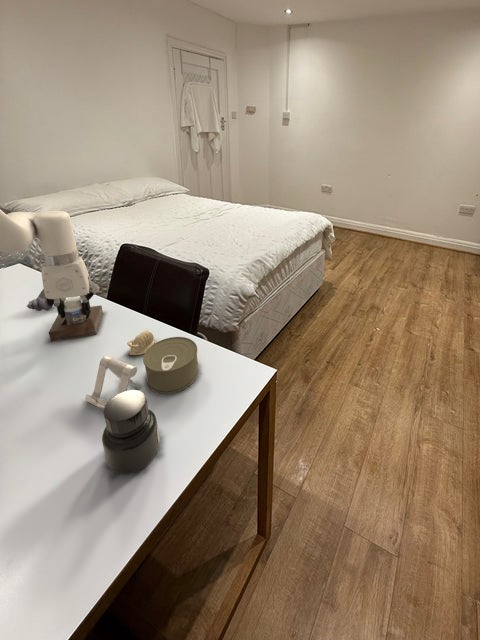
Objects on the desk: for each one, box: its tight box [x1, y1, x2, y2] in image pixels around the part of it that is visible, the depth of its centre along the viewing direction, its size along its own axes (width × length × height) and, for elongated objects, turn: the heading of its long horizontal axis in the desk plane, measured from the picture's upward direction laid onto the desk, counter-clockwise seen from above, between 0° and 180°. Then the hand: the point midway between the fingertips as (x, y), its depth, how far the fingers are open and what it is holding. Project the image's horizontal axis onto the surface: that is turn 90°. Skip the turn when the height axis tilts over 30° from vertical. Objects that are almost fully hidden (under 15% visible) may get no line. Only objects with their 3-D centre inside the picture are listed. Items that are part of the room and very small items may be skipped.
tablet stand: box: [85, 355, 139, 410], centre depth 71 cm, size 9×8×8 cm
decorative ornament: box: [126, 330, 155, 356], centre depth 86 cm, size 4×8×5 cm, turn 157°
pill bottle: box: [64, 296, 87, 325], centre depth 93 cm, size 5×5×8 cm
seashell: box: [26, 296, 67, 312], centre depth 101 cm, size 5×5×10 cm
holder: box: [48, 305, 104, 342], centre depth 94 cm, size 11×11×3 cm
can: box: [143, 336, 199, 395], centre depth 78 cm, size 12×12×7 cm
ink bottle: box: [101, 389, 161, 475], centre depth 59 cm, size 10×9×12 cm
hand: (75, 313), depth 93 cm, fingers closed on pill bottle, 4 cm apart
